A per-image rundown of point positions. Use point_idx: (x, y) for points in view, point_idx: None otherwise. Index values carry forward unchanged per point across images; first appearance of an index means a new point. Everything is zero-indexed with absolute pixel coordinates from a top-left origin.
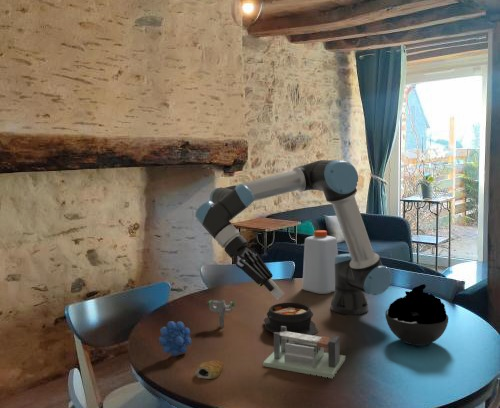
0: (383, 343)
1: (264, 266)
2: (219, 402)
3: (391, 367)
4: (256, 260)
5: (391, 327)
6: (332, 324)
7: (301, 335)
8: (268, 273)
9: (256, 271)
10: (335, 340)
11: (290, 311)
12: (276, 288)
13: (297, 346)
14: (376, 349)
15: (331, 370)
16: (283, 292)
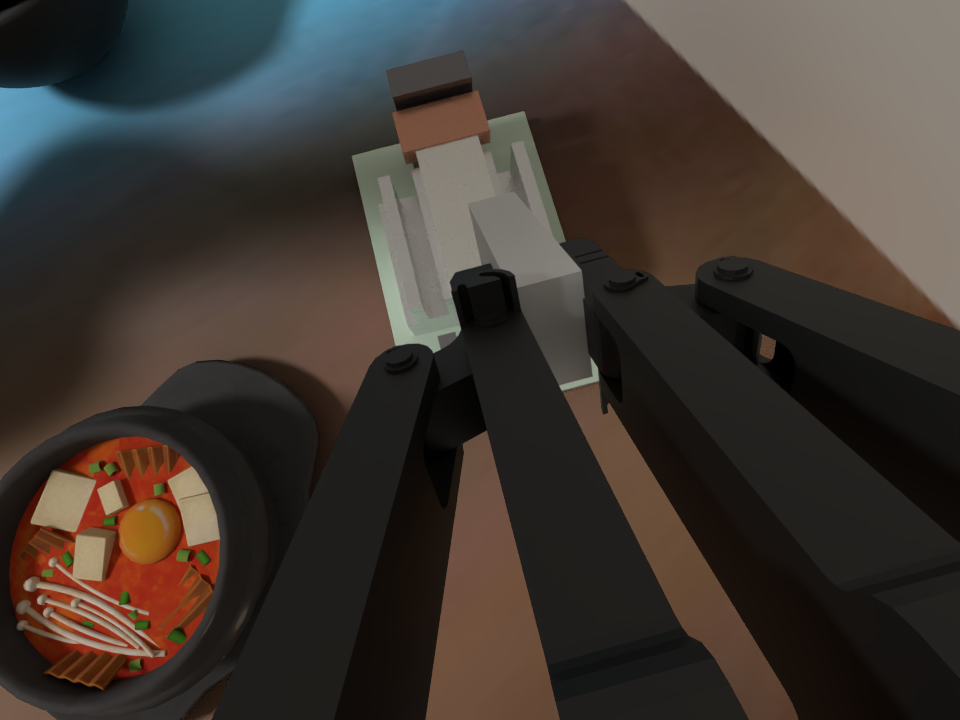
0: (135, 127)
1: (394, 495)
2: (940, 318)
3: (326, 22)
4: (697, 667)
5: (86, 26)
6: (20, 402)
7: (459, 233)
8: (435, 381)
9: (883, 349)
10: (439, 60)
11: (102, 558)
12: (537, 224)
13: (544, 211)
14: (205, 122)
15: (498, 130)
16: (472, 208)
